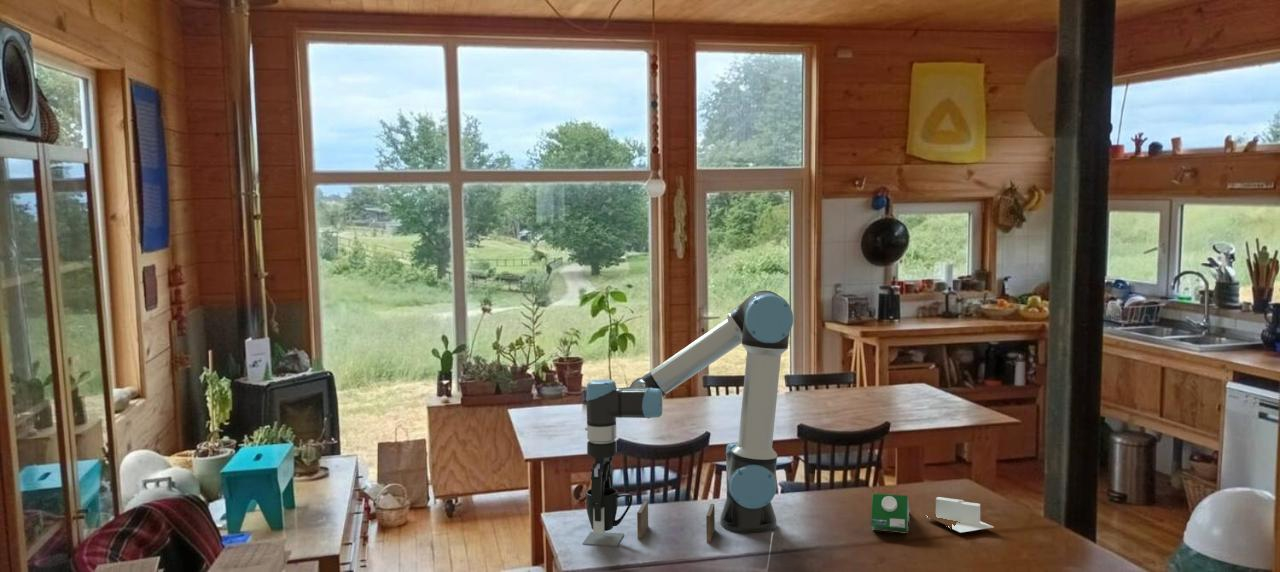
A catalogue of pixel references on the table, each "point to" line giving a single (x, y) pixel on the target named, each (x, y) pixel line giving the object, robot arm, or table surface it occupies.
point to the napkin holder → (960, 514)
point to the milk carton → (890, 512)
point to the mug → (608, 507)
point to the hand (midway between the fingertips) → (602, 527)
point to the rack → (643, 521)
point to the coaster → (604, 539)
